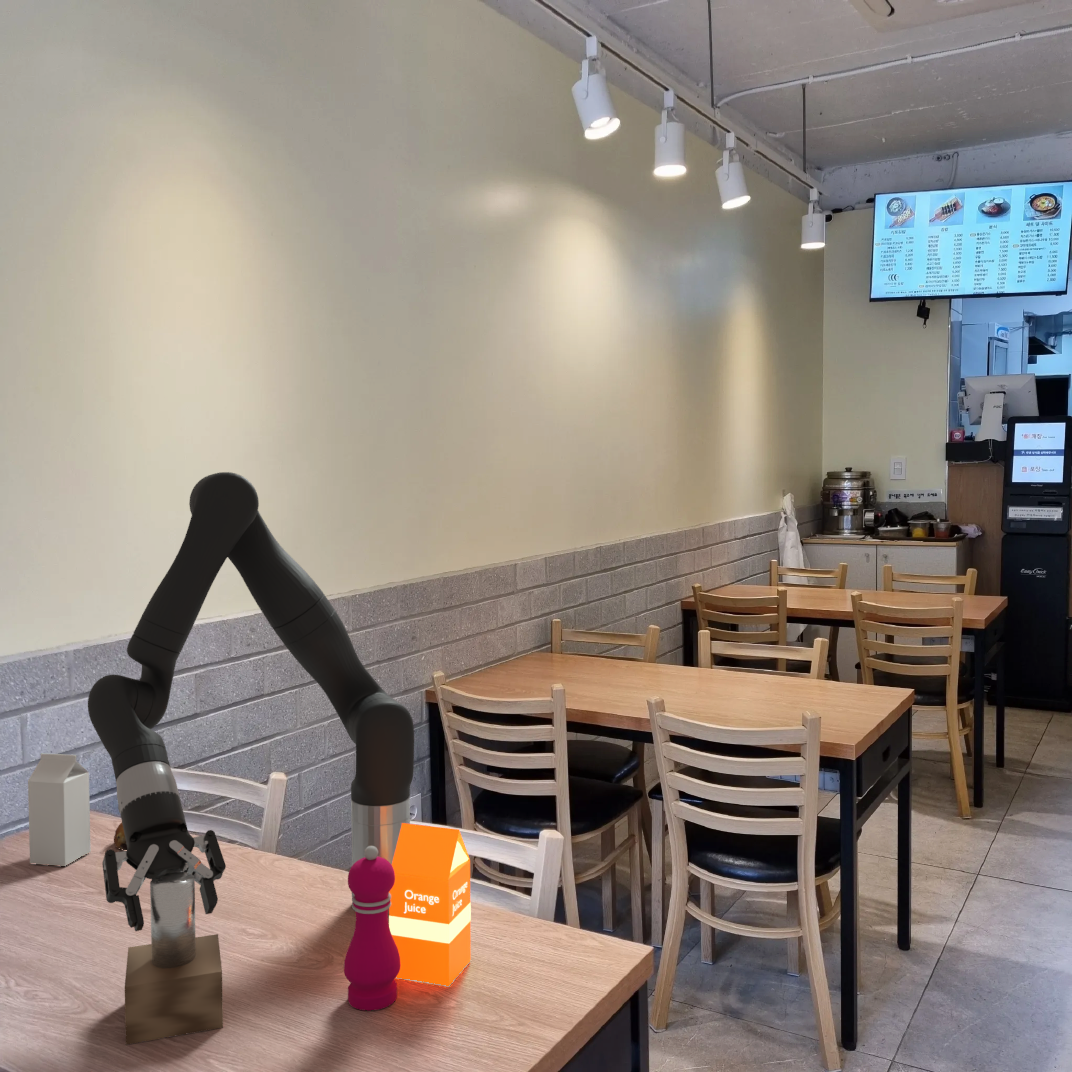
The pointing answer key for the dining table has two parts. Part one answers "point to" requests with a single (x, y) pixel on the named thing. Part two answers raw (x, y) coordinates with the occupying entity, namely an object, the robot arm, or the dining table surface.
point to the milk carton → (58, 810)
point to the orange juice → (431, 904)
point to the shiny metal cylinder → (173, 919)
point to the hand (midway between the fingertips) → (176, 919)
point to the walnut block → (173, 993)
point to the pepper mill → (371, 935)
